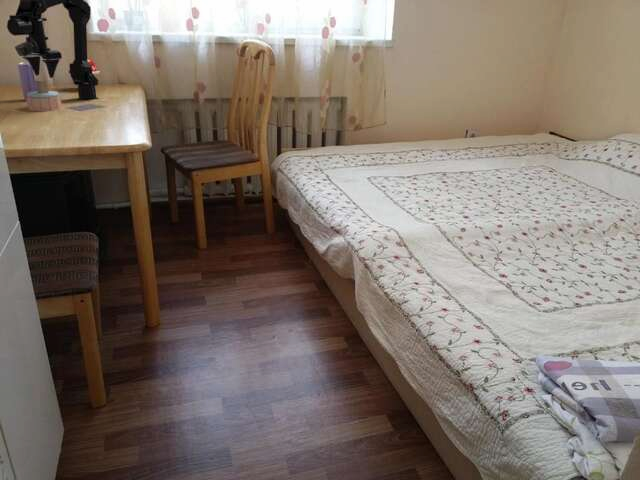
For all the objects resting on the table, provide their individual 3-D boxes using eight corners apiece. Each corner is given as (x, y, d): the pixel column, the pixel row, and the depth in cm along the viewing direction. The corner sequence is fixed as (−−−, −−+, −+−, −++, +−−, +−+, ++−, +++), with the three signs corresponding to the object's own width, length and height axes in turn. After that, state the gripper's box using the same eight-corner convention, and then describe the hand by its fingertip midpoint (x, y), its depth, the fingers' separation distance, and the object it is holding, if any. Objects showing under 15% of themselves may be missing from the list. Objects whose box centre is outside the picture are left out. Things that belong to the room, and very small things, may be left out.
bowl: (50, 105, 218) (48, 92, 216) (68, 108, 213) (66, 95, 210) (22, 109, 209) (19, 96, 207) (40, 113, 203) (38, 99, 201)
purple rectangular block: (33, 101, 224) (26, 64, 218) (21, 100, 225) (13, 63, 219) (43, 99, 229) (36, 63, 223) (30, 98, 231) (24, 62, 224)
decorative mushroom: (70, 88, 259) (65, 55, 252) (101, 87, 264) (96, 55, 258) (71, 92, 247) (66, 58, 241) (103, 91, 253) (99, 58, 246)
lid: (47, 92, 216) (45, 77, 213) (64, 95, 210) (62, 80, 208) (21, 96, 207) (18, 80, 204) (38, 99, 202) (35, 83, 199)
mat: (90, 104, 222) (90, 103, 221) (106, 107, 217) (106, 106, 217) (64, 108, 212) (64, 107, 212) (80, 111, 208) (80, 110, 207)
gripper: (1, 33, 199) (10, 76, 206) (30, 36, 190) (39, 81, 197) (29, 32, 208) (37, 73, 214) (59, 35, 199) (66, 78, 206)
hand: (44, 76), depth 208 cm, fingers open, 9 cm apart
